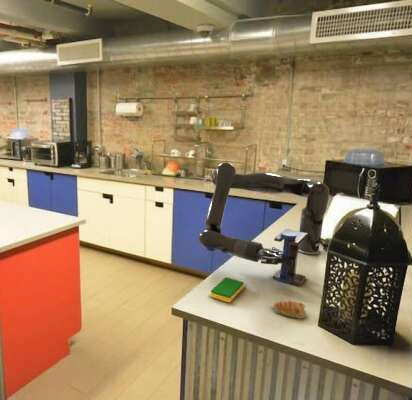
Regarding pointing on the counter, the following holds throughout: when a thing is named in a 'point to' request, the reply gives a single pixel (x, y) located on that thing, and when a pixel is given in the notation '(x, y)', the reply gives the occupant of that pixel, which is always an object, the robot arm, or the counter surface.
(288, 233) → the peg
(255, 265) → the counter surface
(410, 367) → the counter surface
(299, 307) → the pastry
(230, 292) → the dish sponge
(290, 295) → the counter surface
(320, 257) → the counter surface
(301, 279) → the stand
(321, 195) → the robot arm
